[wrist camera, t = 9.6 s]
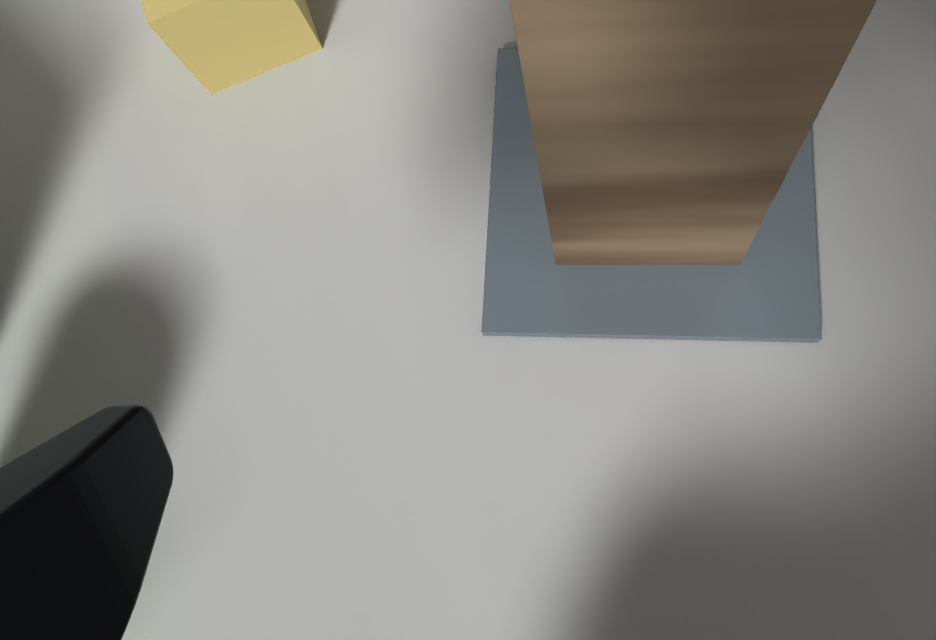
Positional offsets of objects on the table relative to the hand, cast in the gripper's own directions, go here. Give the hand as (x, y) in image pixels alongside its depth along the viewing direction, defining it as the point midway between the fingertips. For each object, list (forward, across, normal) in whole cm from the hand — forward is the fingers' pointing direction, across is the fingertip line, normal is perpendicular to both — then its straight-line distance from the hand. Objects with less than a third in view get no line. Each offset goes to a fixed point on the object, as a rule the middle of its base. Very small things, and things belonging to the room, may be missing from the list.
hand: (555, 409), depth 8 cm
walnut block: (+15, -2, +4) cm, 16 cm away
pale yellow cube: (+21, +10, -1) cm, 23 cm away
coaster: (+16, -2, +4) cm, 16 cm away
